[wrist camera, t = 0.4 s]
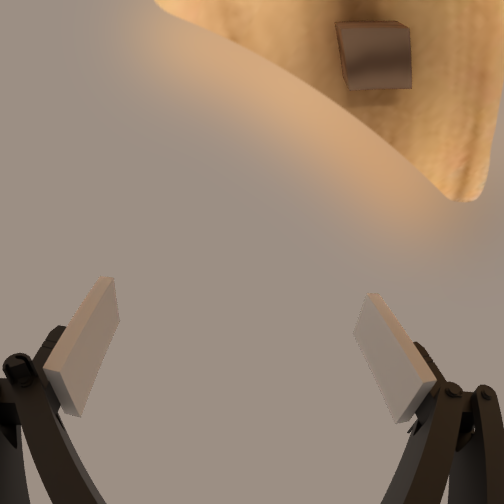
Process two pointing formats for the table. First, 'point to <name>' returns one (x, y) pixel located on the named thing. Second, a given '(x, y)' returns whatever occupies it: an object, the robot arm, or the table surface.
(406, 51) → the walnut base
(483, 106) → the table surface
